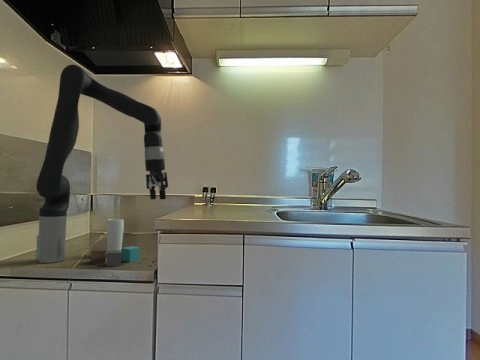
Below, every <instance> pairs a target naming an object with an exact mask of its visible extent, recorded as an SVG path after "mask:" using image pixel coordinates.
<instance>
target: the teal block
mask: <svg viewBox="0 0 480 360" xmlns="http://www.w3.org/2000/svg"><path fill="white" fill-rule="evenodd" d="M140 260H141V247H139V246H132V245H131V246H126V247H122V248H121V262H127V263H134V262H137V261H140Z"/></svg>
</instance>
